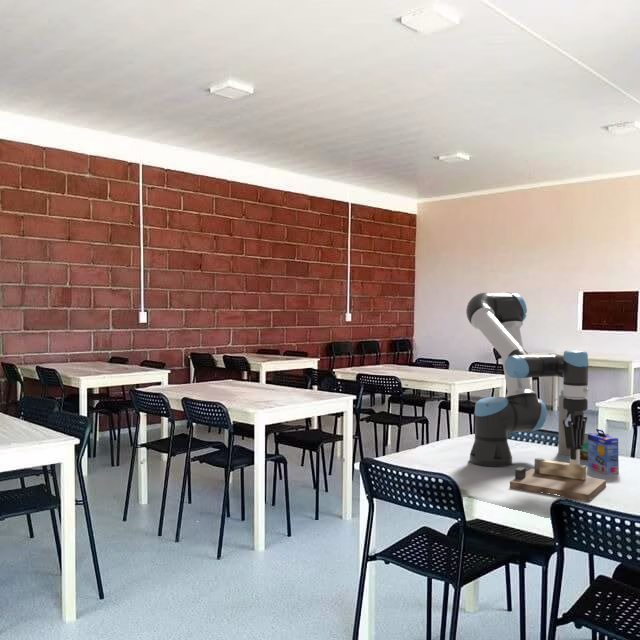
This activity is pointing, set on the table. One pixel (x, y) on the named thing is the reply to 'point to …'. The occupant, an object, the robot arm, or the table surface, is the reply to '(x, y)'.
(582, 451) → the food container
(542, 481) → the board
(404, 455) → the table surface
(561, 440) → the thermos bottle
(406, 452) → the table surface
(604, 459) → the ink cartridge box
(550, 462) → the stool leg
